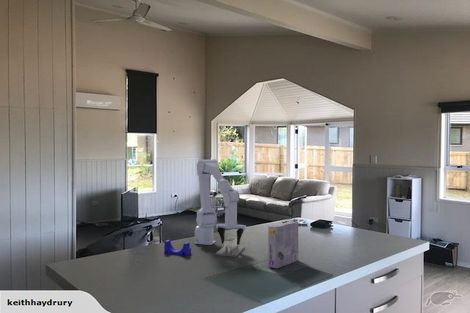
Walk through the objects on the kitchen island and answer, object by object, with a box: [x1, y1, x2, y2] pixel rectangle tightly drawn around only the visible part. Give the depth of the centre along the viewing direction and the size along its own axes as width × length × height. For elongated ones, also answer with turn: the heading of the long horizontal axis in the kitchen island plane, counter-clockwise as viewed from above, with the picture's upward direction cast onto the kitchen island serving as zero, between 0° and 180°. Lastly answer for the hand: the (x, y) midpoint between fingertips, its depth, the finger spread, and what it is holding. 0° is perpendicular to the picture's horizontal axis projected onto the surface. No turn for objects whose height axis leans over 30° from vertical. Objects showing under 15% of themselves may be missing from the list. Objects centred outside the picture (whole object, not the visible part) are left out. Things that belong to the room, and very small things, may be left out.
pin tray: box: [215, 245, 246, 258], centre depth 199 cm, size 10×16×4 cm, turn 164°
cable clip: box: [163, 239, 192, 257], centre depth 195 cm, size 12×4×6 cm, turn 67°
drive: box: [223, 236, 237, 252], centre depth 199 cm, size 4×9×5 cm, turn 164°
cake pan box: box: [267, 221, 299, 270], centre depth 180 cm, size 19×5×18 cm, turn 141°
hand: (230, 243), depth 199 cm, fingers open, 7 cm apart
